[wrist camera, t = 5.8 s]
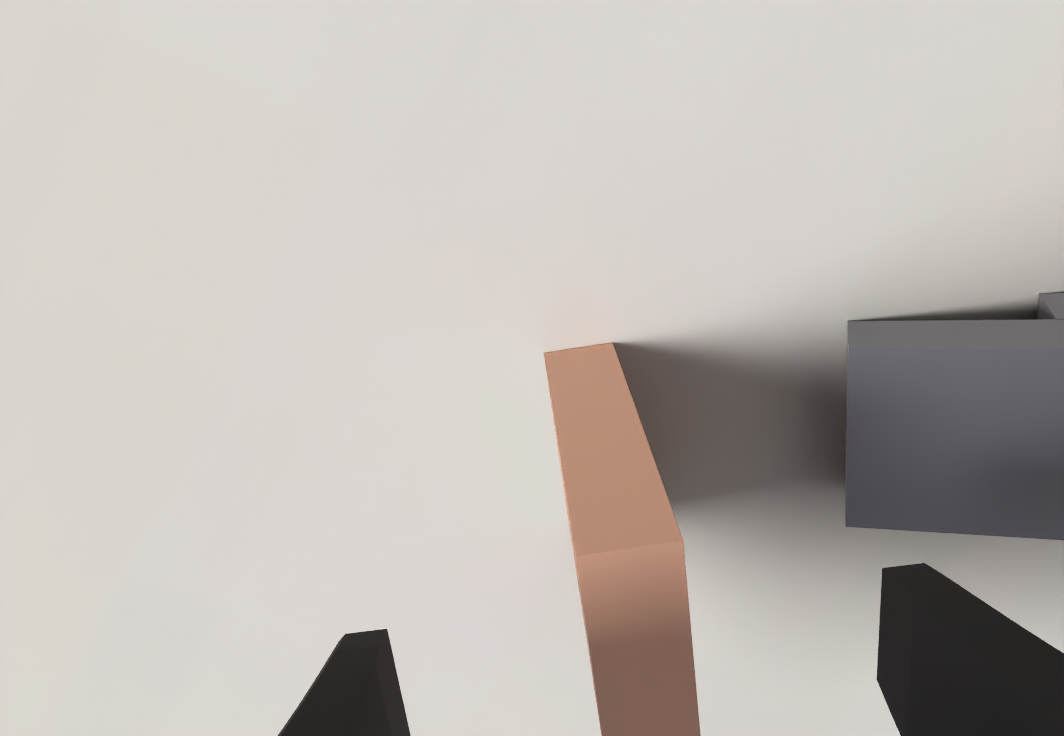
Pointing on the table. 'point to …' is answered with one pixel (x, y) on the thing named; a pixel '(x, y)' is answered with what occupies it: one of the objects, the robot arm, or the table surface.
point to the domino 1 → (623, 550)
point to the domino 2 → (956, 427)
